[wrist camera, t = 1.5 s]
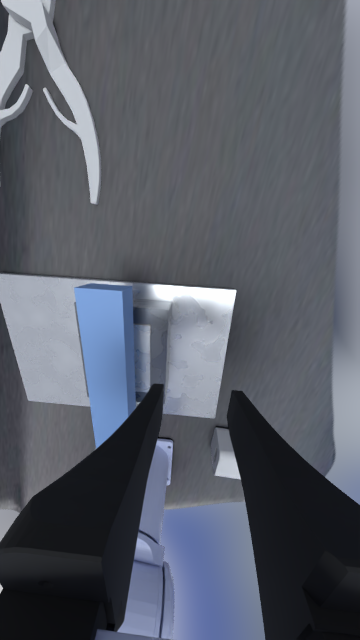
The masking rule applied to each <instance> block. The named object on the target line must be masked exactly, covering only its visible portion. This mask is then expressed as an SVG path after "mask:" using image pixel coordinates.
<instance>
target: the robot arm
mask: <svg viewBox="0 0 360 640" xmlns="http://www.w3.org/2000/svg"><path fill="white" fill-rule="evenodd" d="M163 397H164V384H156V383H154V384H153V385H152V386H151V388H150V389H149V391H148V392H147V394H146V395H145V397H144V398H143V399H142V401H141V402H140V403H139V405H138V406H137V407H136V408H135V410H134V411H133V412H132V413H131V414H130V416H129V417H128V418H127V419H126V420H125V421H124V422H123V424H122V425H121V426H120V427H119V428H118V429H117V430H116V431H115V432H114V433H113V434H112V435H111V436H110V437H109V438H108V439H107V440H105V441H104V442H103V443H102V444H101V445H100V446H99V447H98V448H97V449H96V450H94V451H93V452H92V453H91V454H90V455H89V456H87V457H86V458H85V459H83V460H82V461H81V462H80V463H78V464H77V465H76V466H75V467H73V468H72V469H71V470H70V471H68V472H67V473H66V474H64V475H63V476H62V477H60V478H59V479H57V480H56V481H54V482H53V483H52V484H50V485H49V486H47V487H46V488H45V489H43V490H42V491H40V492H39V493H37V494H36V495H34V496H33V497H32V498H31V500H30V501H29V502H28V504H27V505H26V506H25V508H24V509H23V510H22V511H21V513H20V514H19V516H18V517H17V518H16V519H15V521H14V523H13V524H12V525H11V527H10V528H9V530H8V532H7V533H6V534H5V536H4V538H3V539H2V540H1V542H0V584H1V585H2V587H3V590H2V592H1V593H0V640H172V636H173V624H174V583H173V577H172V574H171V571H170V567H169V564H168V563H167V562H165V561H163V558H164V546H161V545H160V540H161V531H162V522H163V512H164V504H165V494H166V485H170V482H171V467H172V452H173V441H172V440H168V439H158V435H159V431H160V426H161V420H162V413H163ZM227 421H228V428H229V435H230V439H231V443H232V447H233V451H234V454H235V458H236V462H237V466H238V470H239V474H240V478H241V482H242V486H243V491H244V497H245V502H246V508H247V514H248V520H249V526H250V532H251V538H252V544H253V550H254V558H255V564H256V571H257V578H258V585H259V593H260V600H261V608H262V615H263V623H264V631H265V639H266V640H360V505H359V504H358V503H356V502H355V501H354V500H352V499H351V498H350V497H349V496H347V495H346V494H345V493H343V492H342V491H341V490H340V489H338V488H337V487H336V486H335V485H333V484H332V483H331V482H330V481H329V480H327V479H326V478H325V477H324V476H323V475H321V474H320V473H319V472H318V471H317V470H316V469H314V468H313V467H312V466H311V465H310V464H309V463H308V462H307V461H305V460H304V459H303V458H302V457H301V456H300V455H299V454H298V453H297V452H296V451H295V450H294V449H293V448H292V447H291V446H290V445H289V444H288V443H287V442H286V441H285V440H284V439H283V438H282V437H281V436H280V435H279V434H278V433H277V432H276V431H275V430H274V429H273V428H272V427H271V425H270V424H269V423H268V422H267V421H266V420H265V419H264V417H263V416H262V415H261V414H260V413H259V411H258V410H257V409H256V408H255V406H254V405H253V404H252V403H251V402H250V400H249V399H248V398H247V397H246V395H245V394H244V393H243V392H242V391H234V390H232V393H231V398H230V403H229V408H228V413H227Z"/></svg>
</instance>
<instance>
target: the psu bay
mask: <svg viewBox="0 0 360 640" xmlns="http://www.w3.org/2000/svg"><path fill="white" fill-rule="evenodd" d="M90 283H96V284H110V285H124V286H132V292H133V326H134V361H135V395H136V407H137V406H138V405H139V403H140V402H141V401H142V399H143V398H144V397H145V395H146V394H147V392H148V391H149V389H150V388H151V386H152V385H153V384H154V383H156V384H164V397H163V414H174V415H184V416H195V417H205V418H215V414H216V408H217V402H218V396H219V390H220V384H221V378H222V372H223V367H224V361H225V355H226V349H227V343H228V337H229V331H230V325H231V319H232V313H233V307H234V301H235V295H236V290H235V289H231V288H217V287H203V286H189V285H174V284H160V283H146V282H131V281H117V280H103V279H89V278H74V277H60V276H46V275H31V274H17V273H3V272H2V273H0V303H1V306H2V310H3V313H4V317H5V320H6V324H7V327H8V331H9V334H10V338H11V341H12V345H13V348H14V352H15V355H16V359H17V362H18V366H19V369H20V373H21V376H22V380H23V383H24V387H25V390H26V394H27V397H28V401H38V402H48V403H58V404H69V405H79V406H90V400H89V393H88V386H87V378H86V371H85V364H84V357H83V350H82V342H81V335H80V328H79V321H78V314H77V306H76V299H75V292H74V287H78V286H82V285H86V284H90Z"/></svg>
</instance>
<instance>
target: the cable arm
mask: <svg viewBox="0 0 360 640" xmlns="http://www.w3.org/2000/svg"><path fill="white" fill-rule="evenodd" d="M74 292H75V299H76V306H77V314H78V321H79V328H80V335H81V342H82V350H83V357H84V364H85V371H86V378H87V386H88V393H89V400H90V407H91V414H92V422H93V429H94V436H95V443H96V448H95V450H96V449H97V448H98V447H99V446H100V445H101V444H102V443H103V442H104V441H105V440H107V439H108V438H109V437H110V436H111V435H112V434H113V433H114V432H115V431H116V430H117V429H118V428H119V427H120V426H121V425H122V424H123V422H124V421H125V420H126V419H127V418H128V417H129V416H130V414H131V413H132V412H133V411H134V410H135V408H136V395H135V361H134V326H133V292H132V286H124V285H110V284H96V283H90V284H86V285H82V286H78V287H74Z"/></svg>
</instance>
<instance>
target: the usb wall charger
mask: <svg viewBox="0 0 360 640" xmlns="http://www.w3.org/2000/svg"><path fill="white" fill-rule="evenodd" d="M211 456H212V465H213V474H214V475H216V476H222V477H229V478H235V479H241V478H240V474H239V470H238V466H237V462H236V458H235V454H234V451H233V447H232V443H231V439H230V435H229V429H224V428H217V427H215V431H214V434H213V438H212V442H211Z"/></svg>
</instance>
